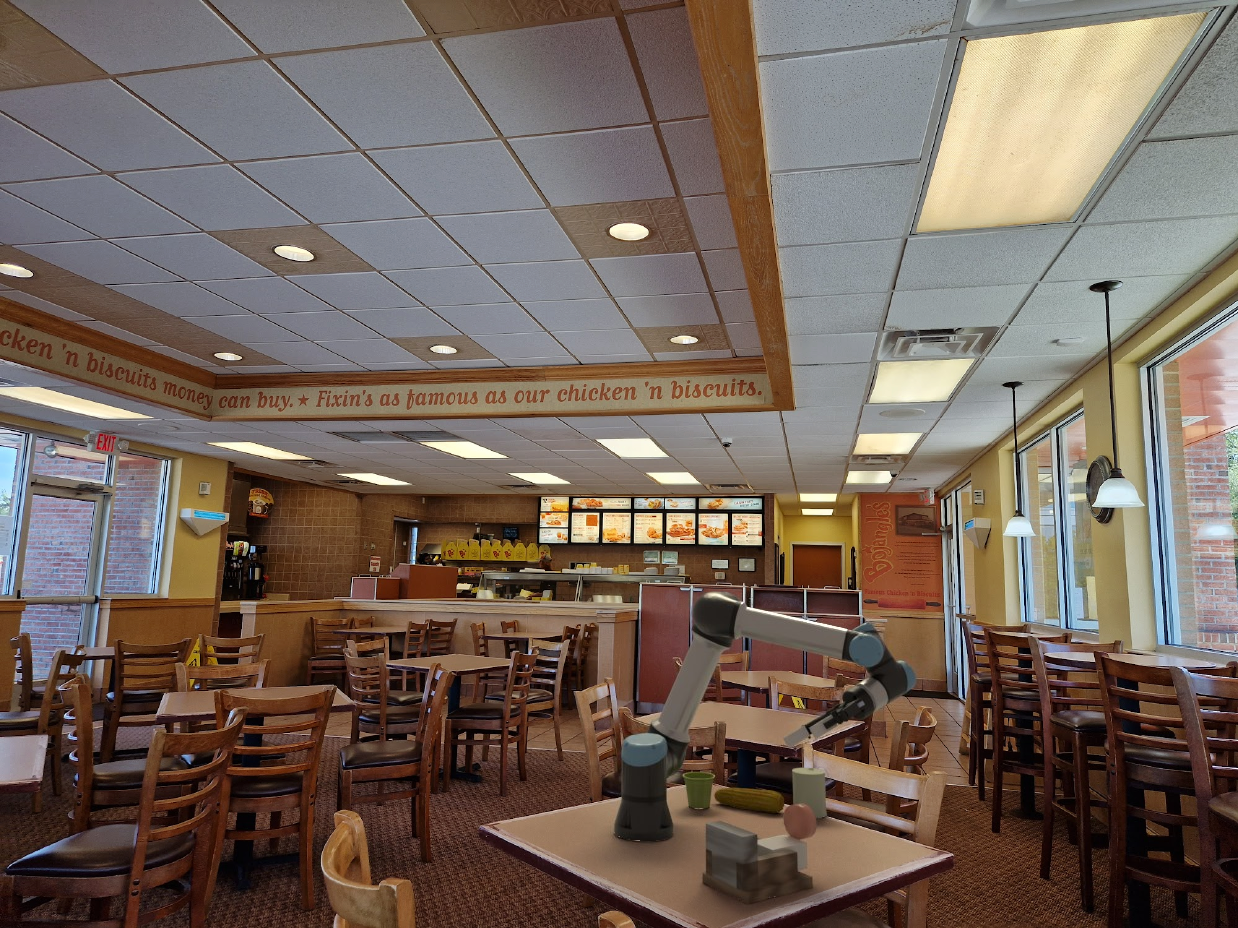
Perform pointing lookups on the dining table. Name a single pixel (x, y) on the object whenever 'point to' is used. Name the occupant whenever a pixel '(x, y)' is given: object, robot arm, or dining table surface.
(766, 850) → the plunger
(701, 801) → the plant pot
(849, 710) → the robot arm
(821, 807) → the can
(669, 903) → the dining table surface
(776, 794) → the food
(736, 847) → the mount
